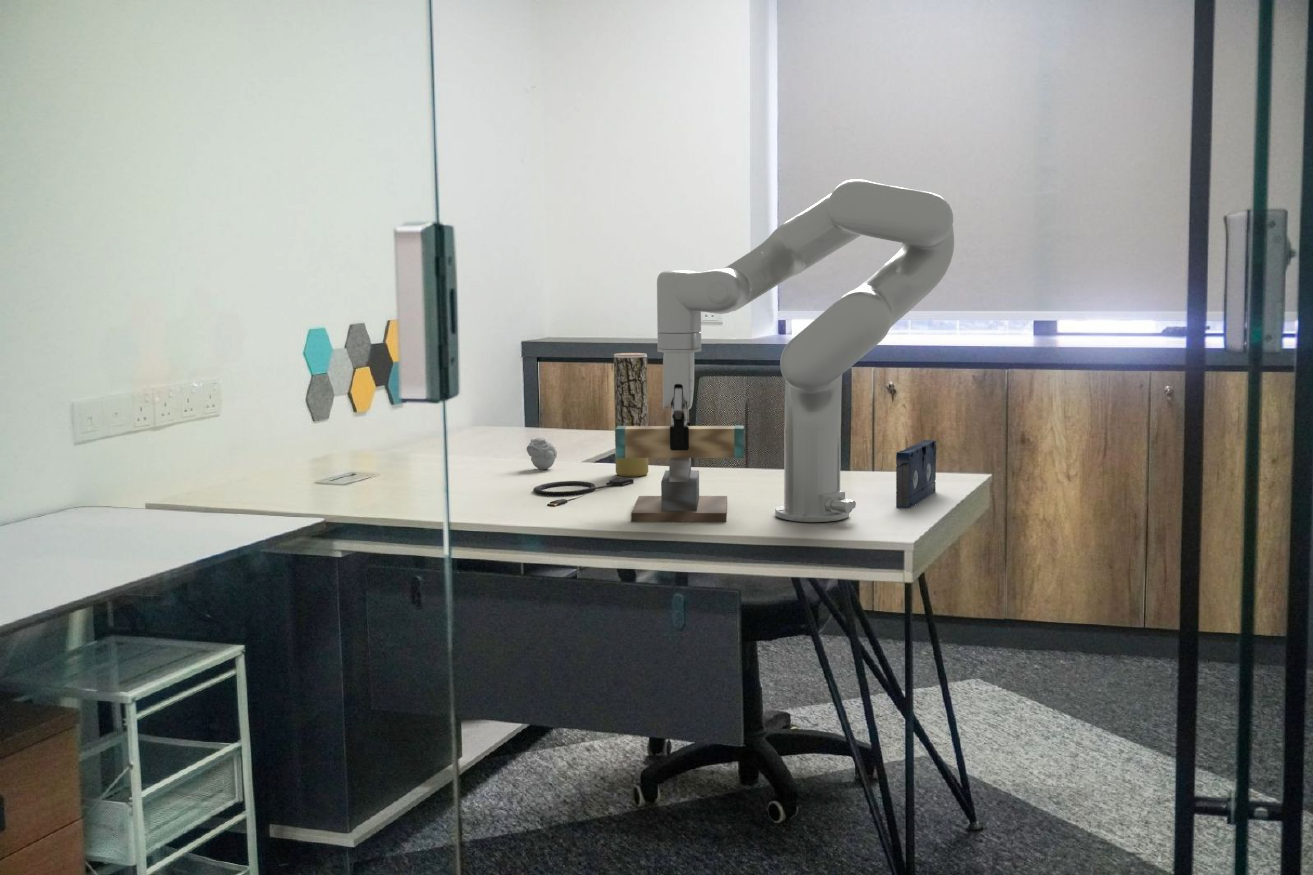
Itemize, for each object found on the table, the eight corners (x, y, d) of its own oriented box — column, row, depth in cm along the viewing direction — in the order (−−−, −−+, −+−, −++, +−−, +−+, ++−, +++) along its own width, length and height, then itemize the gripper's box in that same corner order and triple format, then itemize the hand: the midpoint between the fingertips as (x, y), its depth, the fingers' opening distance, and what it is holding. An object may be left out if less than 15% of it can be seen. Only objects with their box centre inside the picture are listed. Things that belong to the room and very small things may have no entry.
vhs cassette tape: (923, 491, 240) (923, 439, 238) (938, 492, 238) (939, 440, 237) (892, 508, 224) (893, 452, 222) (909, 509, 222) (909, 453, 221)
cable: (495, 503, 235) (495, 495, 235) (579, 480, 259) (578, 473, 259) (555, 509, 228) (555, 501, 228) (635, 485, 252) (635, 478, 252)
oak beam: (743, 454, 221) (743, 425, 220) (743, 458, 217) (743, 428, 216) (618, 454, 222) (617, 425, 222) (616, 458, 218) (615, 428, 218)
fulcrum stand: (727, 504, 228) (727, 449, 227) (726, 521, 213) (725, 463, 211) (638, 504, 230) (638, 449, 228) (631, 521, 214) (630, 463, 212)
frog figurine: (520, 470, 269) (519, 437, 268) (544, 466, 275) (543, 434, 274) (540, 473, 265) (540, 440, 265) (564, 468, 271) (563, 436, 270)
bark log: (644, 477, 258) (643, 355, 254) (612, 477, 259) (610, 355, 256) (651, 472, 264) (650, 353, 261) (619, 471, 266) (618, 352, 262)
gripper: (660, 340, 226) (661, 440, 228) (654, 346, 209) (655, 455, 211) (702, 340, 225) (703, 440, 228) (699, 346, 208) (700, 454, 211)
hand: (680, 446), depth 219 cm, fingers open, 5 cm apart
